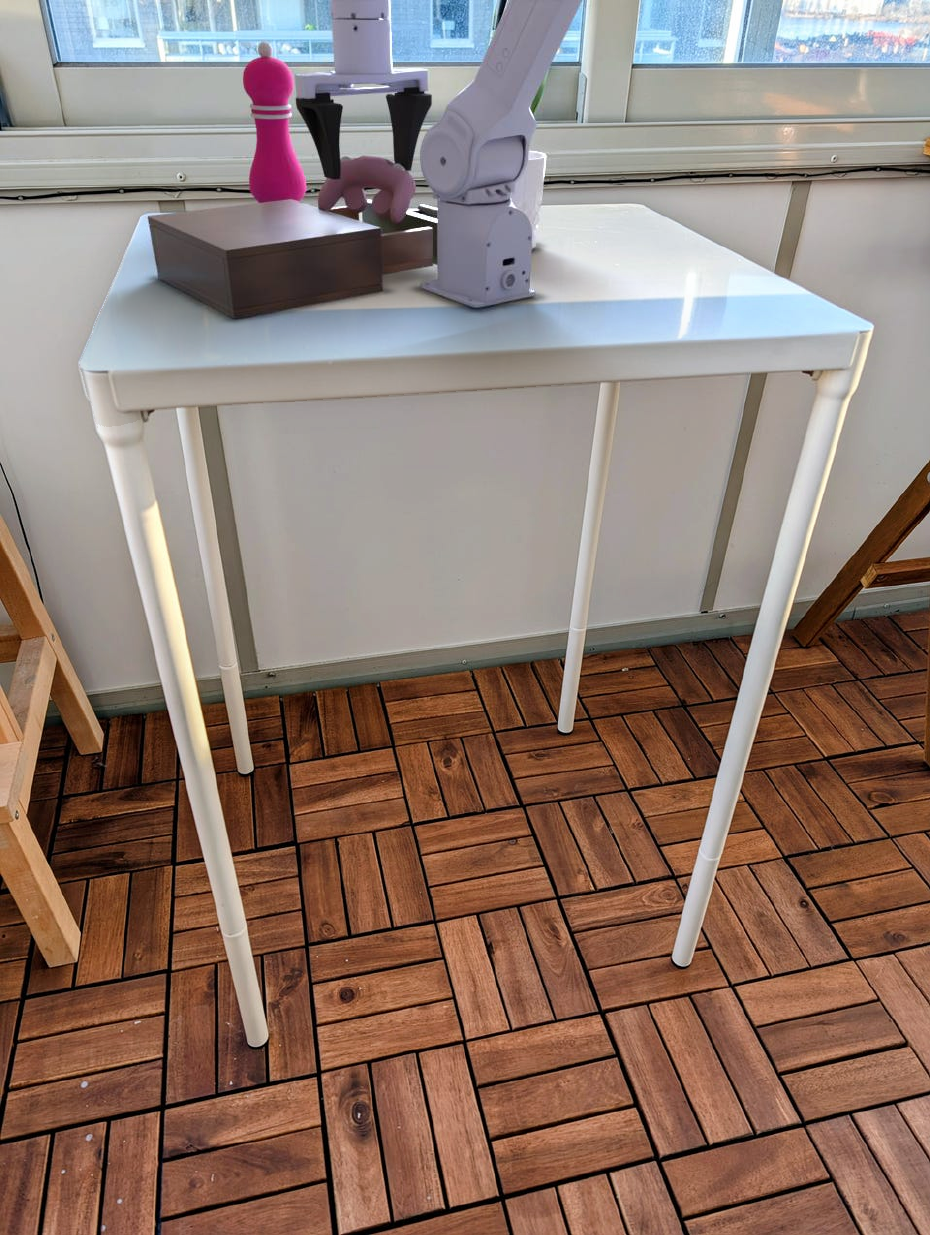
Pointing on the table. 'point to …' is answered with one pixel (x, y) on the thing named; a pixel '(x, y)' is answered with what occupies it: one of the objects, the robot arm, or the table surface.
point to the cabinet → (266, 256)
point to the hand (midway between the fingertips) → (368, 173)
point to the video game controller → (370, 174)
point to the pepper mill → (272, 130)
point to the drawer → (402, 237)
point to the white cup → (531, 190)
